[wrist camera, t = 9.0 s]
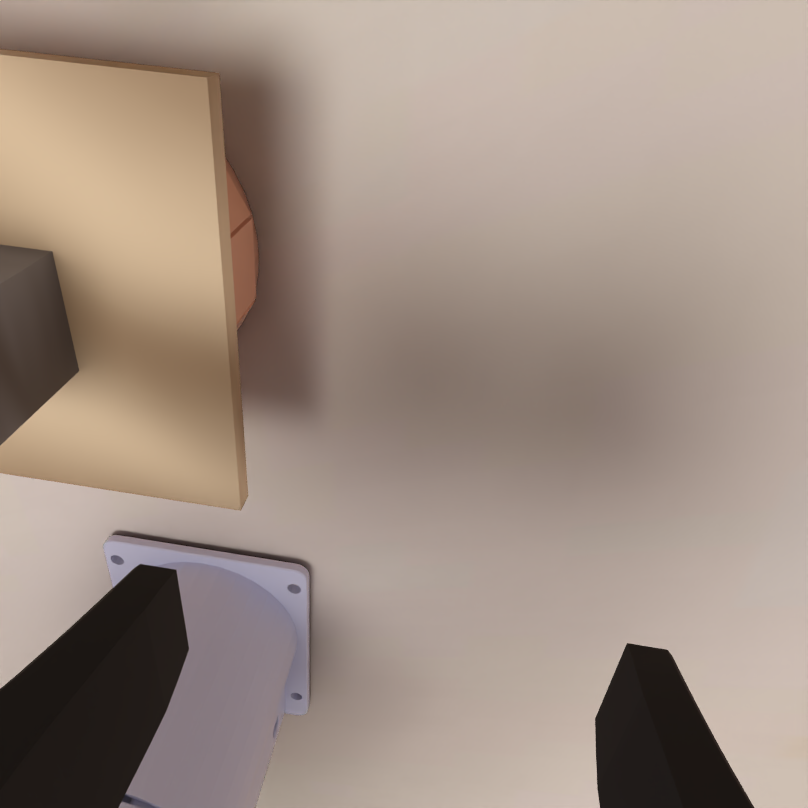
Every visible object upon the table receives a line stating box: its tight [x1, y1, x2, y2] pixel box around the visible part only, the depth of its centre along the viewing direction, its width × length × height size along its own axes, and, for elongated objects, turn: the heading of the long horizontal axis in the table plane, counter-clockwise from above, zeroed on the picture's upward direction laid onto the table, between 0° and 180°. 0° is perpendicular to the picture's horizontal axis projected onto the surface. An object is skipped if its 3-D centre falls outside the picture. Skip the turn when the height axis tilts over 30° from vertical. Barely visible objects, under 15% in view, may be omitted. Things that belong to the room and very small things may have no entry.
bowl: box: [225, 158, 259, 330], centre depth 17 cm, size 9×9×4 cm
